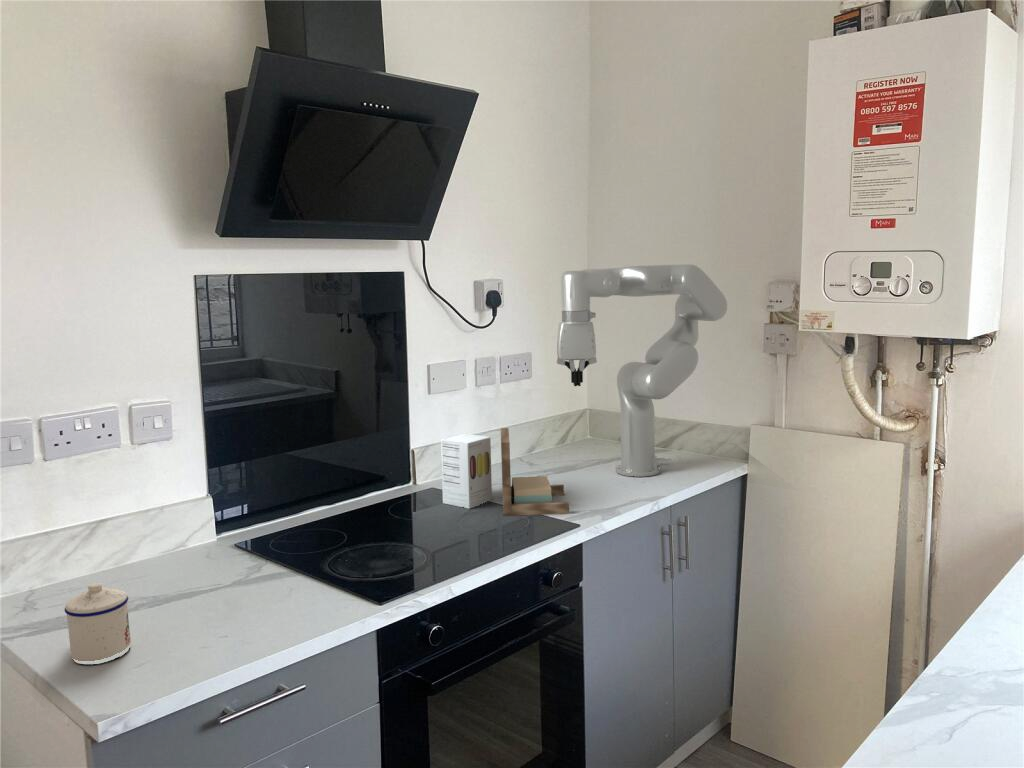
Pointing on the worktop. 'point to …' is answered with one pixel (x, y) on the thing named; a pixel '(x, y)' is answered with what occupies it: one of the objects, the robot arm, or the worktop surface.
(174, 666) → the worktop surface
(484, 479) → the supplement box
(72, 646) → the teacup with lid
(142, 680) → the worktop surface
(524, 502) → the carton
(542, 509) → the display stand
